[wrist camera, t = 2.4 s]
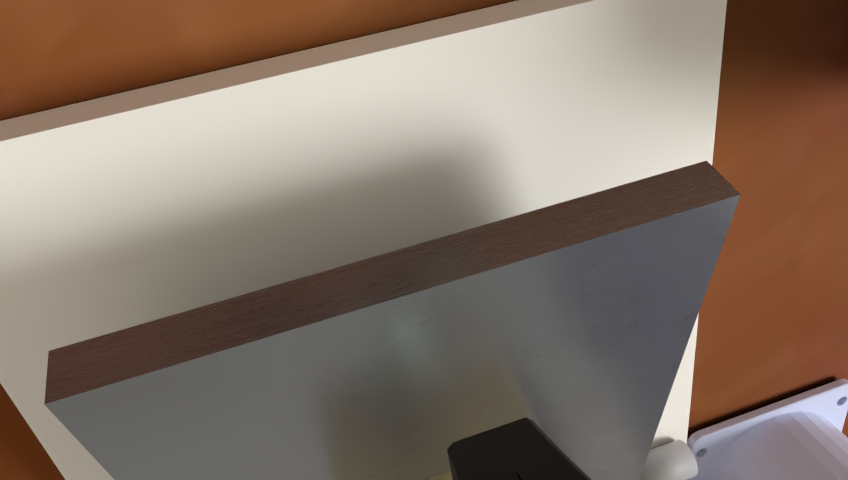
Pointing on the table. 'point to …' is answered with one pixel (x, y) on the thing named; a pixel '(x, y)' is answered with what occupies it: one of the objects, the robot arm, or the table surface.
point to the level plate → (418, 350)
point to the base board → (339, 171)
